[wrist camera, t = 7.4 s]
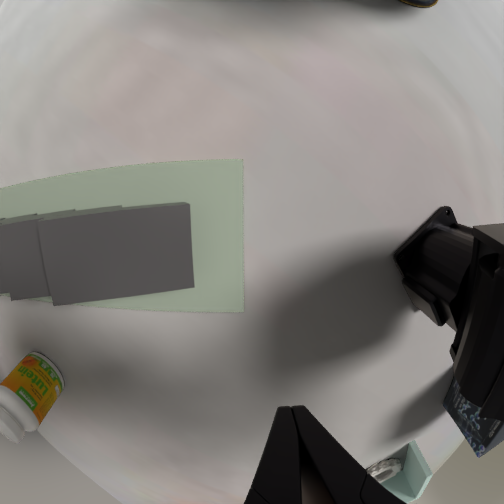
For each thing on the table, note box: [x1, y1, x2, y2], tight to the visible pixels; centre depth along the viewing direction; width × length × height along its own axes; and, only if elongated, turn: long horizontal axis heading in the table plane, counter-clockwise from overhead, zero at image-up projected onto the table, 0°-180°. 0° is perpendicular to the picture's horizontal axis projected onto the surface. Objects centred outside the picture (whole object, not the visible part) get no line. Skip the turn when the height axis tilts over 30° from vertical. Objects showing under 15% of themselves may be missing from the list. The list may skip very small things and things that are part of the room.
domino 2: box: [38, 202, 195, 306], centre depth 15 cm, size 2×5×9 cm
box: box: [443, 376, 504, 458], centre depth 18 cm, size 8×6×11 cm
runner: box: [0, 159, 244, 312], centre depth 17 cm, size 30×10×1 cm, turn 90°
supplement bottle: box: [0, 352, 64, 444], centre depth 16 cm, size 5×5×10 cm
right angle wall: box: [366, 440, 433, 504], centre depth 25 cm, size 12×12×8 cm
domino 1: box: [0, 205, 122, 301], centre depth 15 cm, size 2×5×9 cm
